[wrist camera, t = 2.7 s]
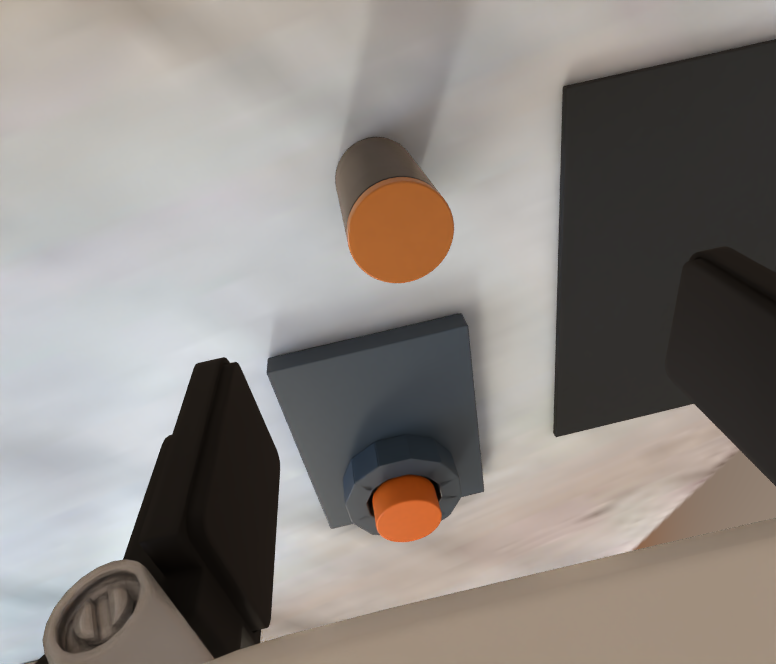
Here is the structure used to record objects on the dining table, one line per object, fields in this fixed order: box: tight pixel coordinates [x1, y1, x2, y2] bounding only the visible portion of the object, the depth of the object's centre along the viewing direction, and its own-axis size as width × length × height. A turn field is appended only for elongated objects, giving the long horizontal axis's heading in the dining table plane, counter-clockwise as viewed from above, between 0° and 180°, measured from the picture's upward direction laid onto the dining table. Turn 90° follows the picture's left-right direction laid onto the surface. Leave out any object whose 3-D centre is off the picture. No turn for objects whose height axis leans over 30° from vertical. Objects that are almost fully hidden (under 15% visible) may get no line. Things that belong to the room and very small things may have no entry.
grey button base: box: [267, 314, 484, 535], centre depth 27 cm, size 13×10×3 cm
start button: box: [372, 475, 442, 542], centre depth 27 cm, size 4×4×2 cm
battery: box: [335, 137, 454, 283], centre depth 18 cm, size 3×3×6 cm
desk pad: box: [553, 39, 776, 437], centre depth 25 cm, size 20×12×1 cm, turn 10°
